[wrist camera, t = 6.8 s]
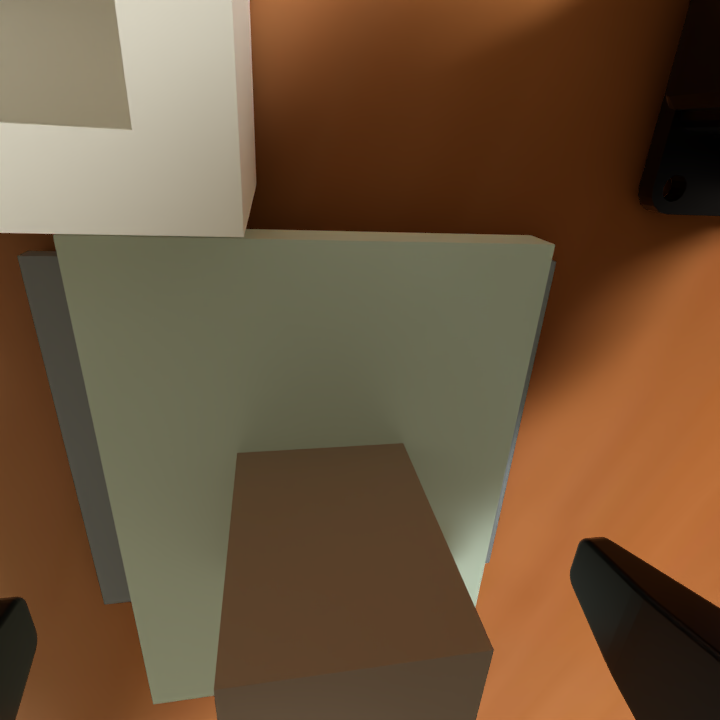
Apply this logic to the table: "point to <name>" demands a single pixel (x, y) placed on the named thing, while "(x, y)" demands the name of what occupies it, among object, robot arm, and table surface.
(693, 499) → the table surface
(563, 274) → the table surface
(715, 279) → the table surface
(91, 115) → the caddy
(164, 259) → the lid
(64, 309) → the mat
